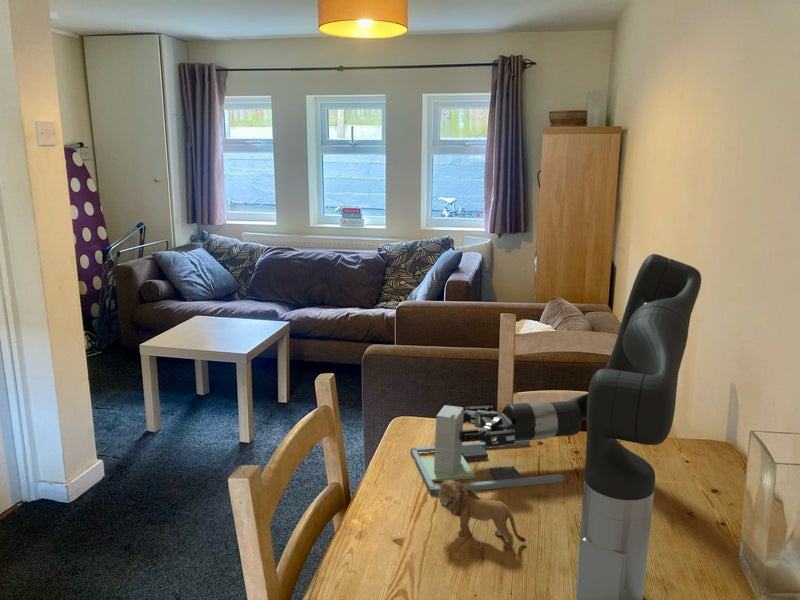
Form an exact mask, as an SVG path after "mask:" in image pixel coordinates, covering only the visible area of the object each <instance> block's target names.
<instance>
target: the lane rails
mask: <svg viewBox="0 0 800 600" xmlns="http://www.w3.org/2000/svg"><path fill="white" fill-rule="evenodd" d="M475 444H481V446H482V447H483V448H486V449H490V448H489V447H498V448H501V447H500V446H509V447H517V446H518V447H519V446H530V445H531V440H528V441H516V442H515V443H514V444H506V445H497V446H486V445H485V442H484V443H481V442H479V441H478V442H468V443H467V442H466V443H462V446H463V445H467V446H468V445H475ZM431 451H435V445H432V446H422V447H421V446H420V447H410V454H411V453H412V454H411V456H412V455H413V456H412V458H413V457H414V458H413V460H414V459H415V461H416V463H417V465H418V467H417V469H418V468H419V469H418V471H419V470H420V471H419V472H421V473H420V474H422V475H421V477H422V476H423V477H422V479H423V481H425V482H424V483H426V484H425V485H427V486H426V488H427V487H428V488H427V490H428V491H429V494H430V495H439V491H440V485H434V482H432V480H431V478H430V476H429V474H428V472H427V470H426V468H425V466H424V464H423V462H422V460H421V459H422V458H421V457H420V454H418V452H431ZM415 461H414V462H415ZM416 463H415V464H416ZM417 465H416V466H417ZM562 482H564V475H563V474H562V473H561V474H558V473H557V474H552V475H551V474H550V475H539V476H538V475H537V476H528V477H522V478H519V479H517V478H516V479H507V480H506V479H505V480H486V481H485V480H484V481H476V482H465V483H462V484H463V485H464V486H467V487H468V488H469V489H470V490H472V491H479V490H480V491H483V490H489V489H491V490H493V489H500V488H502V489H503V488H511V487H519V486H520V487H522V486H523V487H524V486H533V485H543V484H551V483H552V484H553V483H554V484H555V483H562Z"/></svg>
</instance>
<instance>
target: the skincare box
mask: <svg viewBox="0 0 800 600" xmlns="http://www.w3.org/2000/svg"><path fill="white" fill-rule="evenodd" d="M464 408H465V407H461V406H454V405H445V404H444V405H443V407H442V408H441V409H440V410H439V412H438V413H437V415H436V416H435V417H436V418H435V419H436V420H435V436H434V437H435V438H434V446H435V453H434V457H433V458H434V471H436V472H441V473H446V474H454V473H455V471H456V469H457V468H458V466H459V464H460V463H461V457H462V444H463V442H461V441H460V440H459V432H460V431H461V430H464V424H463V415H464V412H465V410H464Z"/></svg>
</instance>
